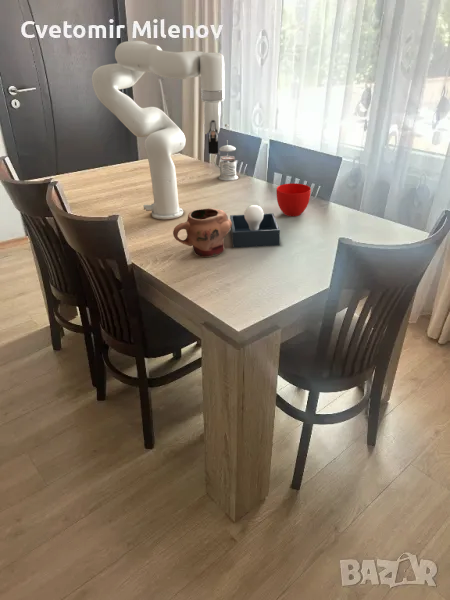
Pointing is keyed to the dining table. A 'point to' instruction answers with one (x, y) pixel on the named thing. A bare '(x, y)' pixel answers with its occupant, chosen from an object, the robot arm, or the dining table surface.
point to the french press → (226, 173)
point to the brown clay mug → (205, 231)
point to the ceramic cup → (293, 198)
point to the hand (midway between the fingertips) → (213, 149)
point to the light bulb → (254, 216)
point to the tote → (255, 232)
